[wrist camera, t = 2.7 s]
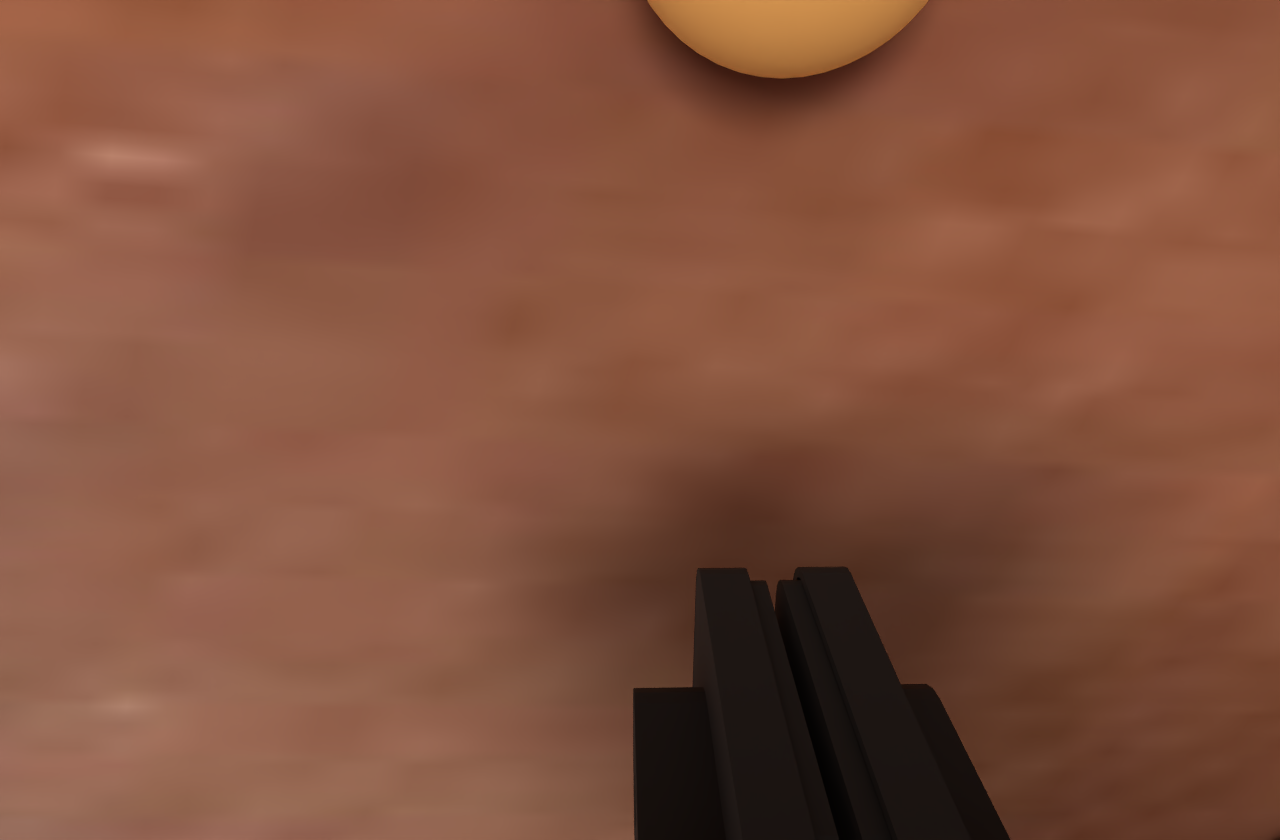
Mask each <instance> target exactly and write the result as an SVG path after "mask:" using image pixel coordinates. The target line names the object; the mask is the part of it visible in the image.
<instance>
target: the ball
mask: <svg viewBox="0 0 1280 840" xmlns="http://www.w3.org/2000/svg"><path fill="white" fill-rule="evenodd" d="M647 1H648V3H649V4H650V6H651V8H652V9H653V10H654V11H655V13H656V14H657V15H658V16H659V18H660V19H661V20H662V22H663V23H664V24H665V25H666V26H667V27H668V28H669V29H670V30H671V31H672V32H673V33H674V34H675V35H676V36H677V37H678V38H679V39H680V40H681V41H682V42H684V43H685V44H686V45H688V46H689V47H690V48H692V49H693V50H694V51H696V52H697V53H698V54H700V55H702V56H703V57H705V58H707V59H709V60H711V61H713V62H714V63H716V64H718V65H721V66H723V67H726V68H729V69H731V70H734V71H737V72H740V73H744V74H749V75H753V76H758V77H768V78H796V77H806V76H810V75H815V74H820V73H825V72H827V71H830V70H833V69H836V68H839V67H842V66H844V65H847V64H849V63H851V62H853V61H855V60H857V59H859V58H861V57H863V56H865V55H867V54H869V53H871V52H872V51H874V50H875V49H877V48H878V47H880V46H881V45H883V44H884V43H886V42H887V41H889V40H890V39H891V38H892V37H894V36H895V35H896V34H897V33H898V32H899V31H900V30H902V29H903V28H904V27H905V26H906V25H907V24H909V22H910V21H911V20H912V19H913V18H914V17H915V16H916V15H917V14H918V12H919V11H920V10H921V9H922V8H923V7H924V6H925V5H926V3H927V2H928V1H929V0H647Z"/></svg>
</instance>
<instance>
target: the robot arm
mask: <svg viewBox="0 0 1280 840" xmlns="http://www.w3.org/2000/svg"><path fill="white" fill-rule="evenodd" d="M633 773H634V835H635V840H1010V838H1009V836H1008V834H1007V832H1006V830H1005V828H1004V826H1003V824H1002V822H1001V820H1000V818H999V816H998V814H997V812H996V810H995V808H994V806H993V804H992V802H991V800H990V798H989V796H988V794H987V792H986V790H985V788H984V786H983V784H982V782H981V780H980V778H979V776H978V774H977V772H976V770H975V768H974V766H973V764H972V762H971V760H970V758H969V756H968V754H967V752H966V750H965V748H964V746H963V744H962V742H961V740H960V738H959V736H958V734H957V732H956V730H955V728H954V726H953V724H952V722H951V720H950V718H949V716H948V714H947V712H946V710H945V708H944V706H943V704H942V702H941V700H940V698H939V697H938V695H937V694H936V692H935V691H934V689H933V688H932V687H930V686H928V685H927V684H900V682H899V679H898V677H897V675H896V673H895V670H894V668H893V666H892V664H891V662H890V659H889V657H888V655H887V653H886V651H885V648H884V646H883V644H882V642H881V639H880V637H879V635H878V633H877V631H876V628H875V626H874V624H873V622H872V619H871V617H870V615H869V613H868V611H867V608H866V606H865V604H864V602H863V599H862V597H861V595H860V593H859V591H858V588H857V586H856V584H855V582H854V580H853V577H852V575H851V573H850V571H849V570H848V568H846V567H797V569H796V570H795V573H794V578H793V580H780V581H779V582H778V585H777V591H776V604H775V611H774V607H773V604H772V600H771V597H770V593H769V590H768V586H767V583H766V581H764V580H761V581H750V578H749V575H748V572H747V569H746V568H698V570H697V576H696V598H695V630H694V661H693V687H686V688H634V689H633Z"/></svg>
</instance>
